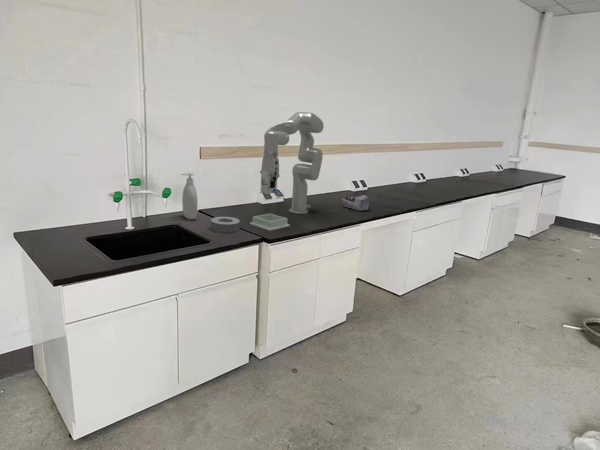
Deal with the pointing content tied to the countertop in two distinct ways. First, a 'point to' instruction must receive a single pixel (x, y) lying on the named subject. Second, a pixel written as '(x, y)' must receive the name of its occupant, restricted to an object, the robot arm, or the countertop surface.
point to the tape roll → (225, 224)
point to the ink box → (267, 184)
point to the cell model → (356, 202)
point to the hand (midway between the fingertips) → (268, 186)
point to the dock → (269, 222)
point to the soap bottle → (189, 198)
